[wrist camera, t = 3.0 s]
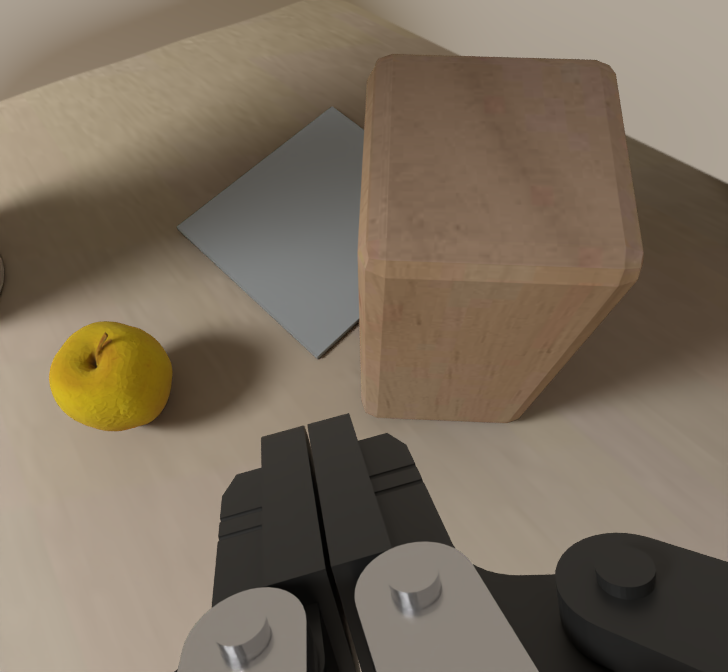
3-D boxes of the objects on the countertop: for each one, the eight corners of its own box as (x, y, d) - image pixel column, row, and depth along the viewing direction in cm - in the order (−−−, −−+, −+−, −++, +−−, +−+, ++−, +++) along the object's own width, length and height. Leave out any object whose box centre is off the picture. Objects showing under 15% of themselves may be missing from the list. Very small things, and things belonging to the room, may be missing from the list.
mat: (178, 229, 45) (176, 226, 45) (332, 109, 50) (331, 106, 49) (317, 359, 41) (317, 357, 40) (473, 214, 45) (474, 211, 45)
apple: (195, 355, 41) (155, 300, 34) (177, 449, 38) (130, 410, 31) (103, 350, 41) (43, 295, 34) (79, 443, 39) (8, 404, 32)
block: (360, 421, 39) (355, 262, 20) (367, 281, 43) (368, 41, 24) (519, 427, 38) (660, 273, 20) (511, 286, 42) (623, 49, 24)
